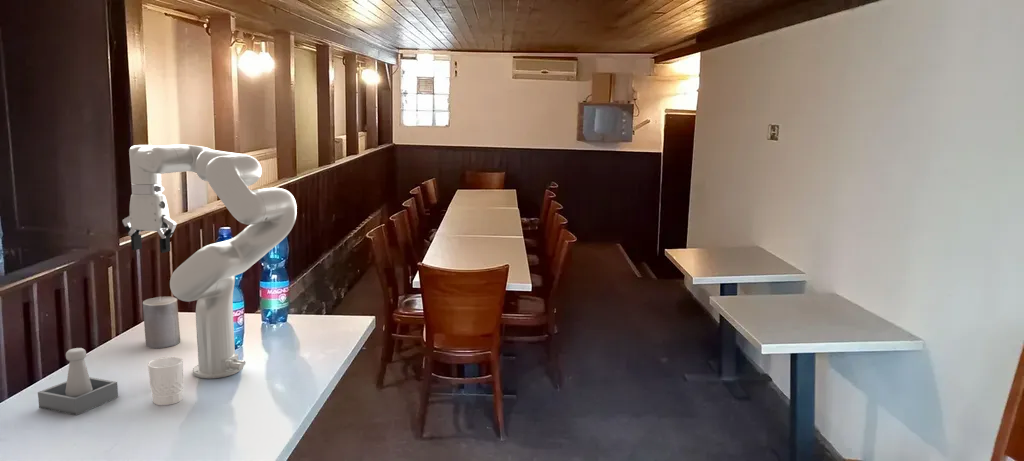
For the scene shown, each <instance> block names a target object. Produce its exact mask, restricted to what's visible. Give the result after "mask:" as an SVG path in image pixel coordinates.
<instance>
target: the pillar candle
mask: <svg viewBox="0 0 1024 461" xmlns="http://www.w3.org/2000/svg"><path fill="white" fill-rule="evenodd" d="M142 310H143V311H142V314H143V323H144V324H143V326H144V327H143V328H144V339H145V346H146V347H147V348H148V349H149V348H150V349H163V348H167V347H174V346H176V345H178V344H179V343H180V342H181V333H180V332H181V331H180V322H179V321H180V320H179V308H178V298H176V297H175V296H156V297H153V298H152V297H150V298H147V299H145V300H143V301H142Z"/></svg>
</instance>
